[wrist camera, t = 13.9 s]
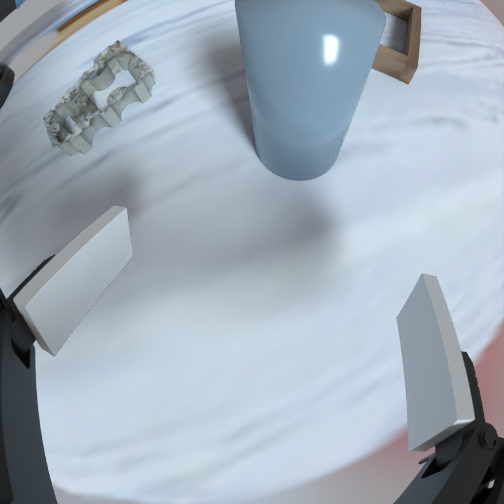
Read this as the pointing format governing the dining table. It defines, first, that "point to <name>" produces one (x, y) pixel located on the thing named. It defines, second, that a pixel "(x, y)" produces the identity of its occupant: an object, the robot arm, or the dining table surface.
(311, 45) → the slate jar
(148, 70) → the egg carton
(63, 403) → the dining table surface
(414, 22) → the wooden square frame
